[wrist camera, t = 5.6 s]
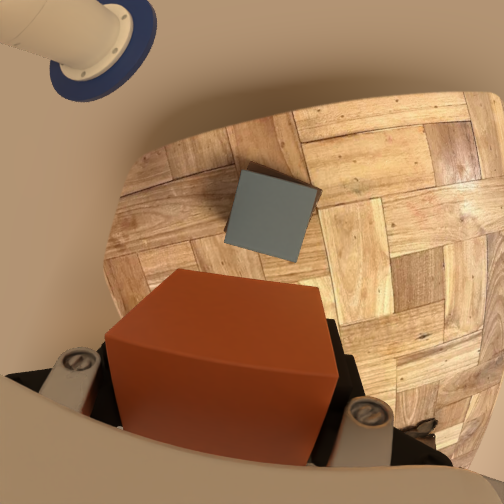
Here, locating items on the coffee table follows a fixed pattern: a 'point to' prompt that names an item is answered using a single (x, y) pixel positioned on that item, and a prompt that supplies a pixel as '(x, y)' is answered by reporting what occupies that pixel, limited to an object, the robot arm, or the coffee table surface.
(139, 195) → the coffee table surface
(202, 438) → the top cube
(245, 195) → the middle block
